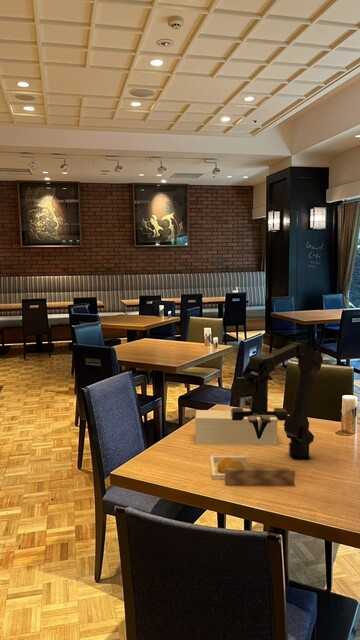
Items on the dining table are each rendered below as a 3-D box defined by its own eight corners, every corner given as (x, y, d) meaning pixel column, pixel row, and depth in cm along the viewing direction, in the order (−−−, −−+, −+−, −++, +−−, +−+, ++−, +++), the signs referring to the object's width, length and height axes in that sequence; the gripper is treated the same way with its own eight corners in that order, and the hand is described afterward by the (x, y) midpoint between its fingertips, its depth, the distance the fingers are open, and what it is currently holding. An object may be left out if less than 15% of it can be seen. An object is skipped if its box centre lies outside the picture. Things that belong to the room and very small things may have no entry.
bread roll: (235, 478, 159) (235, 466, 159) (213, 471, 165) (213, 459, 165) (249, 470, 165) (249, 459, 165) (228, 463, 171) (228, 452, 171)
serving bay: (246, 460, 173) (246, 456, 173) (251, 479, 158) (251, 475, 157) (210, 460, 174) (210, 456, 174) (212, 479, 158) (212, 474, 158)
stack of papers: (195, 444, 190) (195, 417, 189) (196, 435, 201) (196, 410, 200) (277, 446, 188) (277, 419, 187) (274, 436, 198) (274, 411, 197)
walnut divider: (293, 483, 155) (293, 468, 154) (294, 485, 153) (294, 470, 152) (224, 482, 155) (224, 468, 155) (225, 485, 154) (225, 470, 153)
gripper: (282, 388, 171) (281, 430, 172) (229, 388, 171) (229, 430, 173) (288, 396, 160) (287, 441, 161) (232, 396, 160) (232, 441, 162)
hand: (258, 438), depth 165 cm, fingers closed
